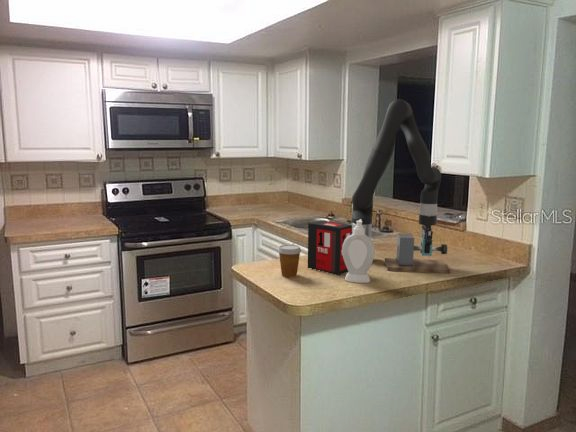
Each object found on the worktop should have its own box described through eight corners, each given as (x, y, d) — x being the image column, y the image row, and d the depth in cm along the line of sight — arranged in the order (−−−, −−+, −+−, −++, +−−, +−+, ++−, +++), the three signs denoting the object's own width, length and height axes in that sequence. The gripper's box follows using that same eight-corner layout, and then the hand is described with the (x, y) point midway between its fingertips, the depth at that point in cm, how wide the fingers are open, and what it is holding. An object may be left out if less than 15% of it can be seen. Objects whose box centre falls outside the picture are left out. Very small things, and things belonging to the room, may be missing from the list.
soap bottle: (374, 278, 194) (377, 219, 190) (372, 284, 187) (375, 223, 183) (343, 276, 198) (344, 217, 194) (340, 281, 190) (341, 221, 186)
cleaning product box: (307, 268, 209) (308, 223, 206) (319, 264, 216) (320, 220, 213) (339, 275, 199) (340, 228, 195) (350, 270, 205) (352, 225, 202)
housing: (398, 265, 208) (400, 237, 206) (396, 260, 218) (397, 233, 216) (412, 266, 208) (414, 238, 206) (409, 260, 217) (411, 233, 215)
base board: (387, 270, 206) (387, 267, 206) (384, 261, 222) (384, 257, 222) (449, 273, 203) (449, 269, 203) (442, 263, 219) (442, 260, 219)
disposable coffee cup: (281, 279, 193) (281, 250, 191) (275, 272, 202) (275, 244, 200) (303, 277, 195) (304, 248, 193) (296, 271, 204) (297, 243, 202)
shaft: (410, 253, 210) (410, 244, 209) (408, 251, 214) (409, 242, 213) (446, 255, 208) (447, 245, 207) (444, 252, 212) (445, 243, 211)
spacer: (422, 255, 209) (423, 239, 207) (420, 252, 214) (421, 237, 213) (431, 255, 208) (432, 240, 207) (429, 252, 214) (430, 237, 212)
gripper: (416, 210, 216) (414, 247, 218) (421, 216, 202) (419, 255, 204) (433, 211, 215) (431, 248, 218) (440, 216, 201) (437, 255, 203)
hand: (425, 251), depth 211 cm, fingers closed on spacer, 5 cm apart
